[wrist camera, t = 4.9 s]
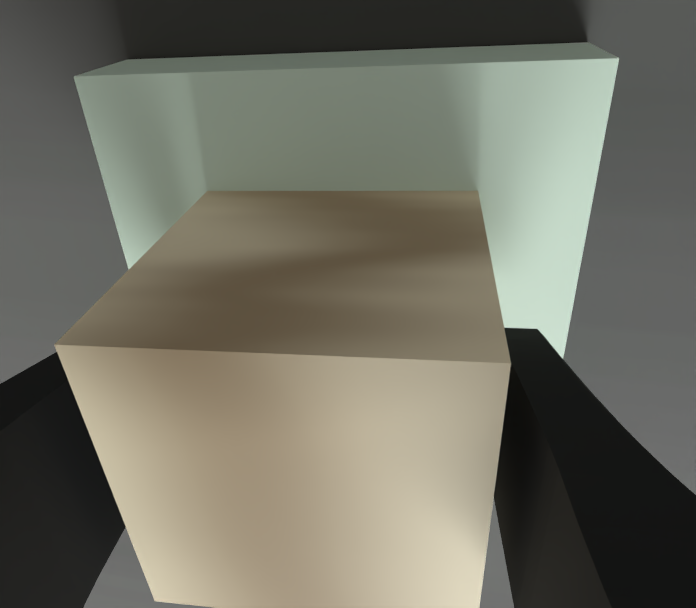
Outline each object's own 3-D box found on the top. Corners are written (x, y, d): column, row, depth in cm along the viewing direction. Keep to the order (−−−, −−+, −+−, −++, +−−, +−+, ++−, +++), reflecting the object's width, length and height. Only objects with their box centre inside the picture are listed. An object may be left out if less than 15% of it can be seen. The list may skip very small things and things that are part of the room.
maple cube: (478, 190, 10) (511, 363, 6) (461, 406, 12) (476, 635, 8) (207, 190, 10) (53, 344, 6) (245, 394, 13) (155, 601, 9)
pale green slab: (588, 42, 10) (618, 58, 8) (529, 413, 15) (541, 472, 13) (127, 59, 11) (73, 76, 10) (206, 397, 16) (179, 448, 14)
